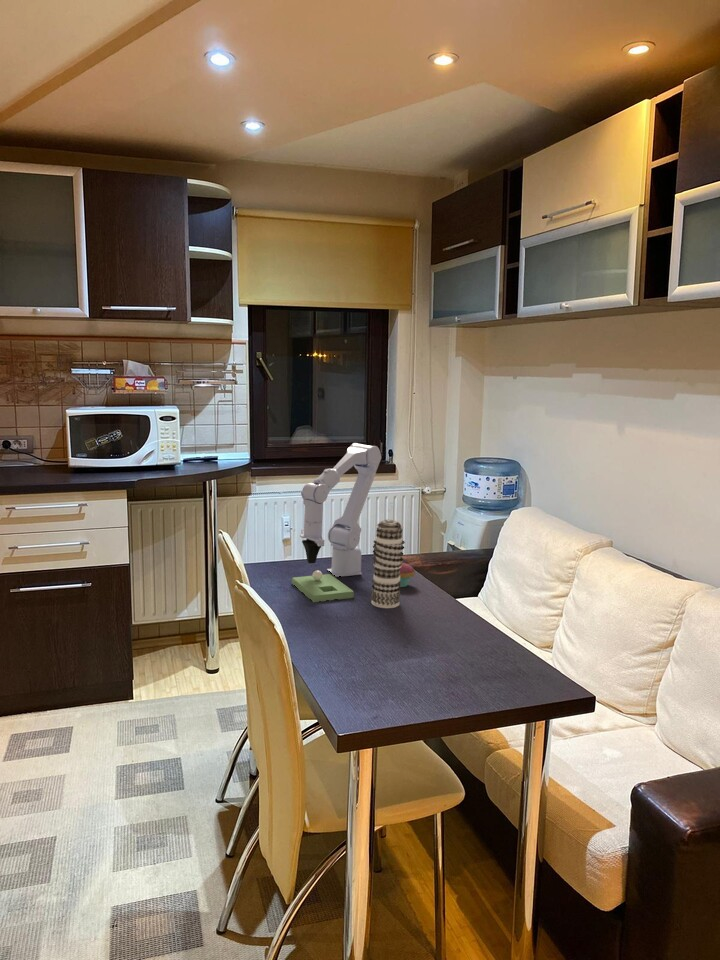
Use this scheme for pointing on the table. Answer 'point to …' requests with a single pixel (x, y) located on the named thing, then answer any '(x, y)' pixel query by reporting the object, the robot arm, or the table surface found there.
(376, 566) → the cream and black cylinder
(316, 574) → the ball
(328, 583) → the putting mat
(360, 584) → the table surface
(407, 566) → the cupcake
